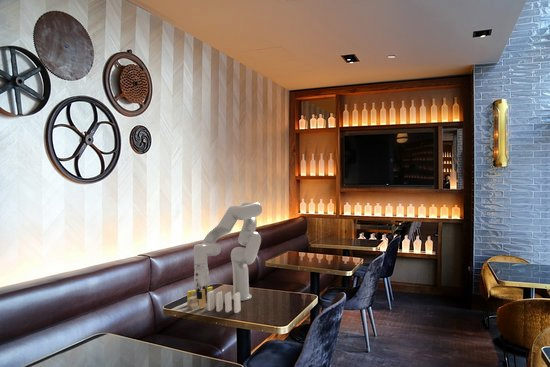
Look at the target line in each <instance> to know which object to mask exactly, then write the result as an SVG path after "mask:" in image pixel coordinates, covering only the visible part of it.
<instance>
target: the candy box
mask: <svg viewBox="0 0 550 367" xmlns="http://www.w3.org/2000/svg"><path fill="white" fill-rule="evenodd" d="M213 288H214V287H213V286H207V293H208V292H210V291H214V289H213ZM201 290H202V289H201ZM186 294H187V300H186V301H187V302H186V304H187V306H188V298H190V297H192V296H197V292H196V290H195V289H193V290H188V291H186ZM205 299H206V303H207V296H205ZM198 304H199V299H198Z"/></svg>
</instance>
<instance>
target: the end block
mask: <svg viewBox="0 0 550 367" xmlns="http://www.w3.org/2000/svg"><path fill="white" fill-rule="evenodd" d="M197 308H199V303H198V299H197V296H192V297H190V298H188V305H187V310H190V311H192V310H194V309H197Z"/></svg>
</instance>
